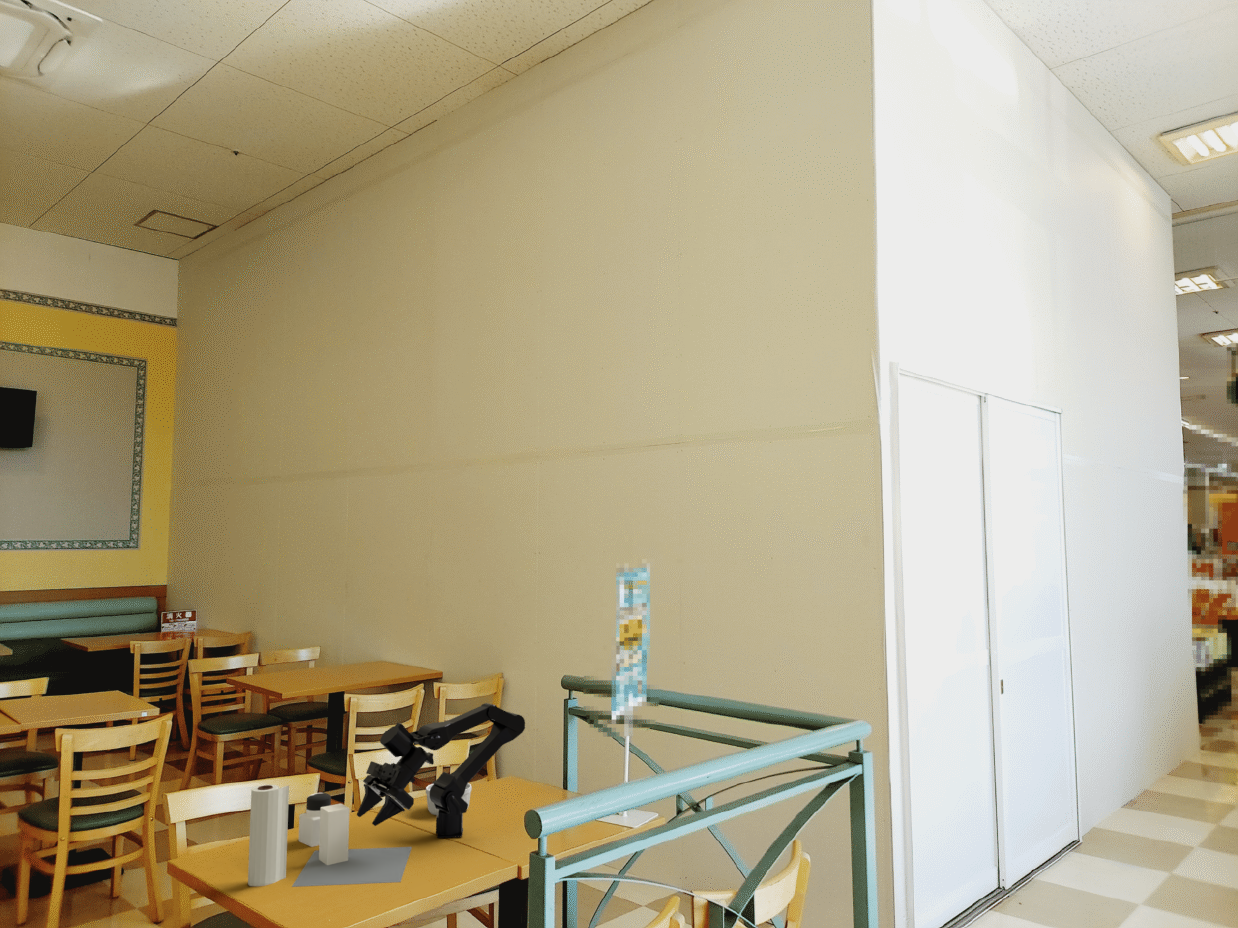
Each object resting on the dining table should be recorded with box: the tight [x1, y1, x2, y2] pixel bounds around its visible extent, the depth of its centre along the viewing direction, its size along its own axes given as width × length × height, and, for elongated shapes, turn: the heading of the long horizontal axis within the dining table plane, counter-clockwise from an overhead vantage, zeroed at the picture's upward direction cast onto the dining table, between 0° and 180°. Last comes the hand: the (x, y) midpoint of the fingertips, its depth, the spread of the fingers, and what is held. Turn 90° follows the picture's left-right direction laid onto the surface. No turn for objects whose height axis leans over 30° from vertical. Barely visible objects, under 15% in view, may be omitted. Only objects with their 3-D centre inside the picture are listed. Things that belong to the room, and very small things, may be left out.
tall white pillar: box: [318, 803, 350, 865], centre depth 218 cm, size 5×5×12 cm
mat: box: [291, 846, 413, 888], centre depth 213 cm, size 24×24×1 cm
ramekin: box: [425, 782, 472, 816], centre depth 260 cm, size 13×13×7 cm
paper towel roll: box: [247, 784, 290, 887], centre depth 204 cm, size 7×6×21 cm
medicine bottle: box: [298, 792, 332, 848], centre depth 232 cm, size 7×7×12 cm
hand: (365, 820), depth 223 cm, fingers open, 9 cm apart
